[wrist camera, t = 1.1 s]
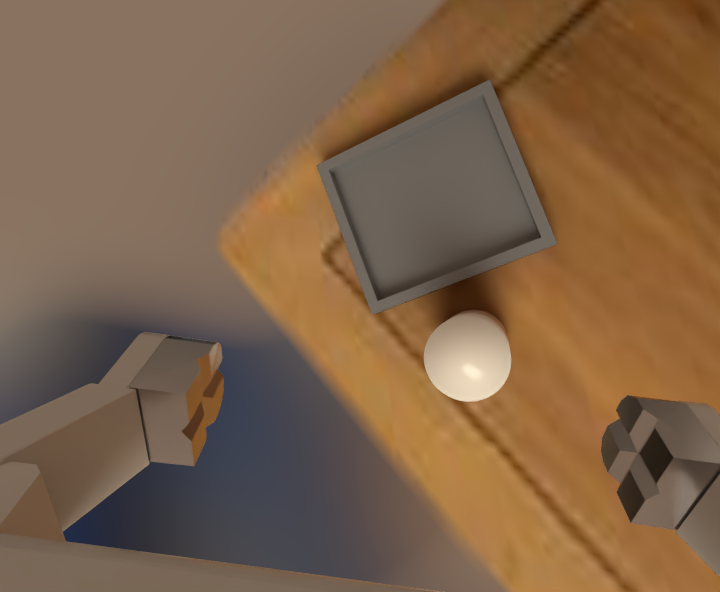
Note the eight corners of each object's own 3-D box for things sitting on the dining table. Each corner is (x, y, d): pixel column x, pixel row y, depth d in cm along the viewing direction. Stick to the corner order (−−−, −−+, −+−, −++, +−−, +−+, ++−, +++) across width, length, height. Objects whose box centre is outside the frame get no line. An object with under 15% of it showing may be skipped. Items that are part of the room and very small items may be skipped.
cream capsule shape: (494, 299, 46) (492, 304, 35) (518, 362, 45) (524, 386, 35) (431, 322, 47) (411, 333, 37) (455, 383, 47) (441, 412, 36)
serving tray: (490, 90, 45) (489, 79, 43) (554, 245, 44) (557, 243, 42) (325, 171, 50) (316, 165, 48) (378, 312, 49) (371, 314, 46)
